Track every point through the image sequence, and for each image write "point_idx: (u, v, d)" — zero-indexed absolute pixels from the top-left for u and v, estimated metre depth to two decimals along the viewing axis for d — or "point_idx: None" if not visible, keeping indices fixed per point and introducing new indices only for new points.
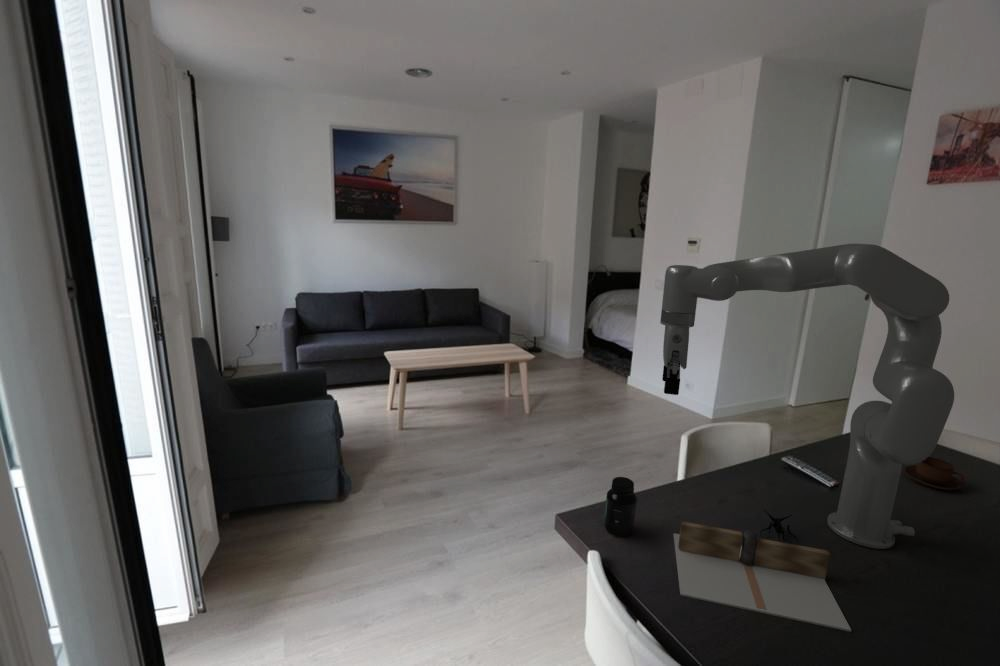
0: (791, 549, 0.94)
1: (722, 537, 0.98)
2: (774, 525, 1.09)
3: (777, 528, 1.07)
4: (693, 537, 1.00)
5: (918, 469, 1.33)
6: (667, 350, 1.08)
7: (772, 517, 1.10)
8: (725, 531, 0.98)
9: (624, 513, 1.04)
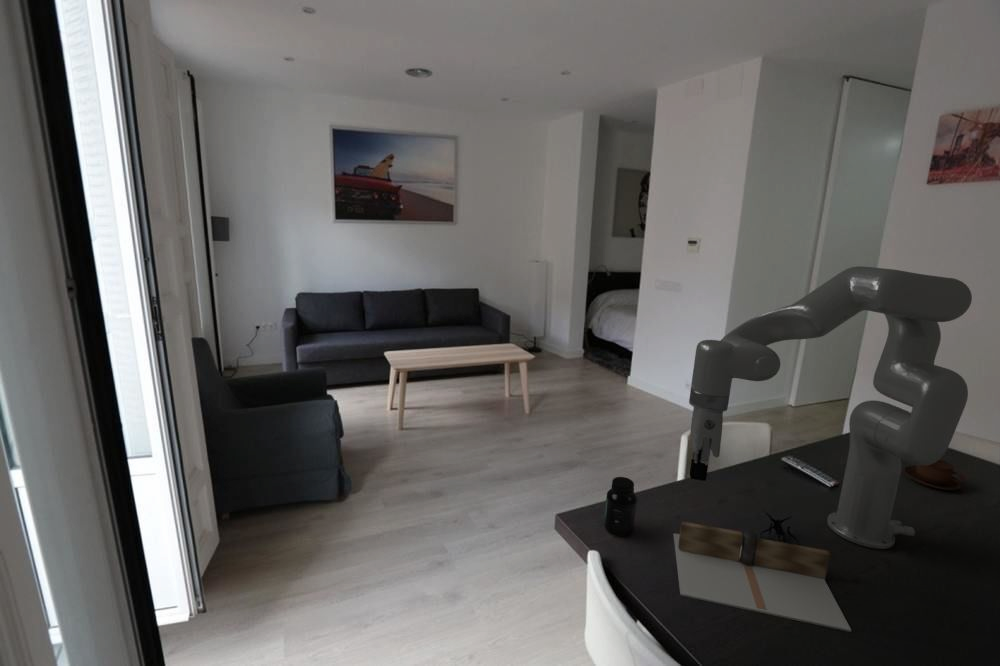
0: (791, 549, 0.94)
1: (722, 537, 0.98)
2: (774, 527, 1.08)
3: (777, 530, 1.06)
4: (693, 537, 1.00)
5: (918, 469, 1.33)
6: (698, 436, 0.96)
7: (772, 518, 1.09)
8: (725, 531, 0.98)
9: (624, 513, 1.04)
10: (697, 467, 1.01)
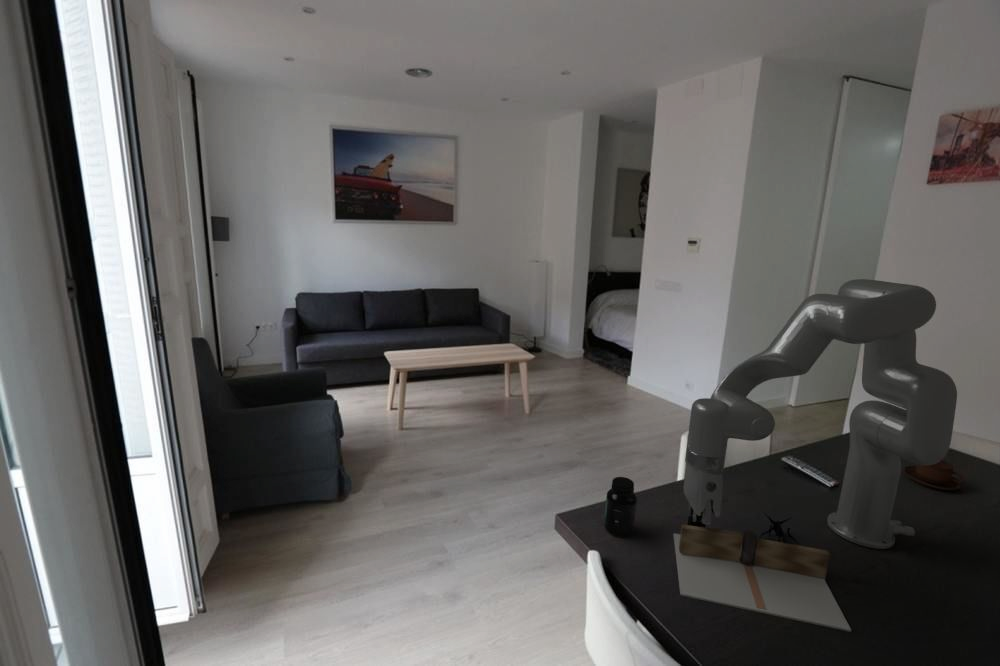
0: (791, 549, 0.94)
1: (723, 538, 0.97)
2: (774, 528, 1.08)
3: (777, 531, 1.06)
4: (694, 540, 0.99)
5: (918, 469, 1.33)
6: (700, 499, 0.95)
7: (772, 520, 1.09)
8: (725, 532, 0.97)
9: (624, 513, 1.04)
10: (696, 525, 1.00)
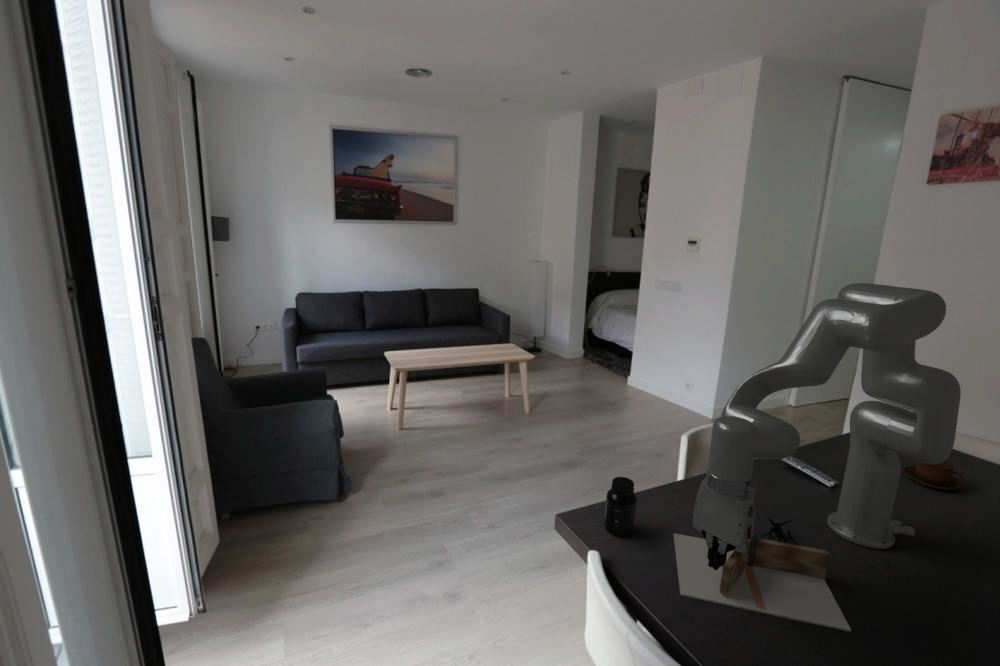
0: (791, 549, 0.94)
1: (744, 554, 0.93)
2: (775, 530, 1.07)
3: (778, 533, 1.05)
4: (733, 573, 0.89)
5: (917, 469, 1.33)
6: (744, 529, 0.86)
7: (772, 522, 1.08)
8: None
9: (625, 513, 1.04)
10: (723, 556, 0.91)
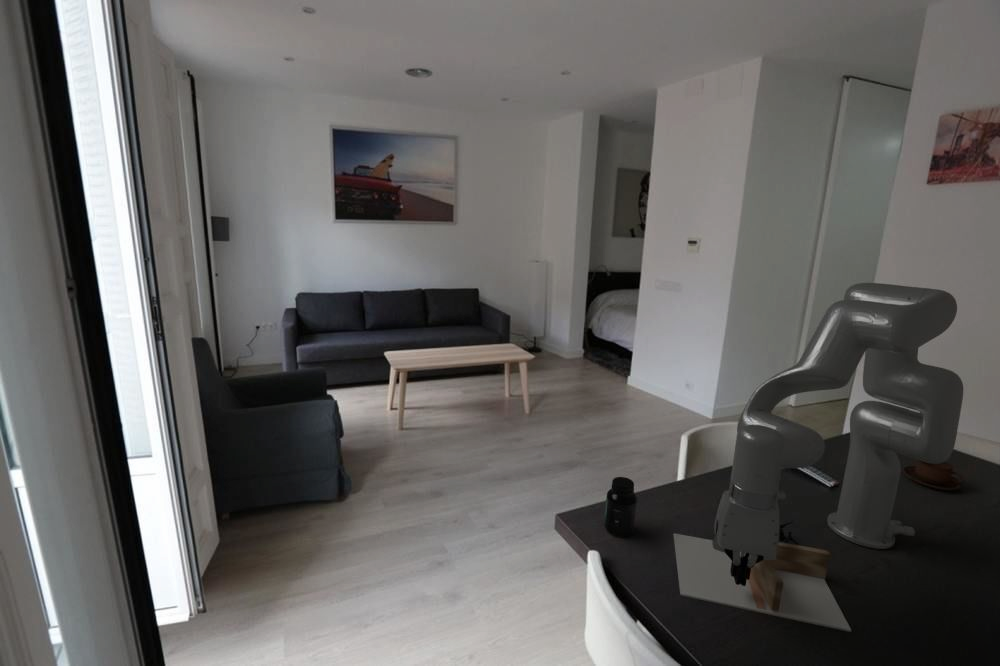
0: (791, 549, 0.94)
1: None
2: None
3: (779, 535, 1.04)
4: None
5: (917, 469, 1.33)
6: (778, 537, 0.84)
7: None
8: None
9: (625, 513, 1.04)
10: None
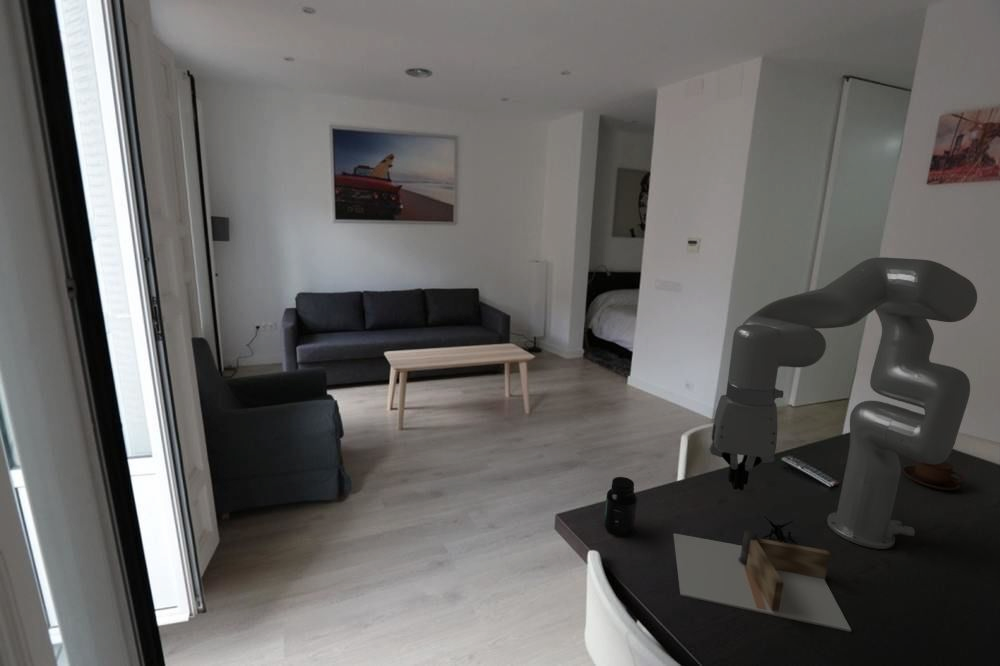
0: (791, 549, 0.94)
1: None
2: (775, 532, 1.06)
3: (778, 535, 1.04)
4: None
5: (917, 469, 1.33)
6: (776, 436, 0.83)
7: None
8: (761, 550, 0.92)
9: (625, 513, 1.04)
10: None
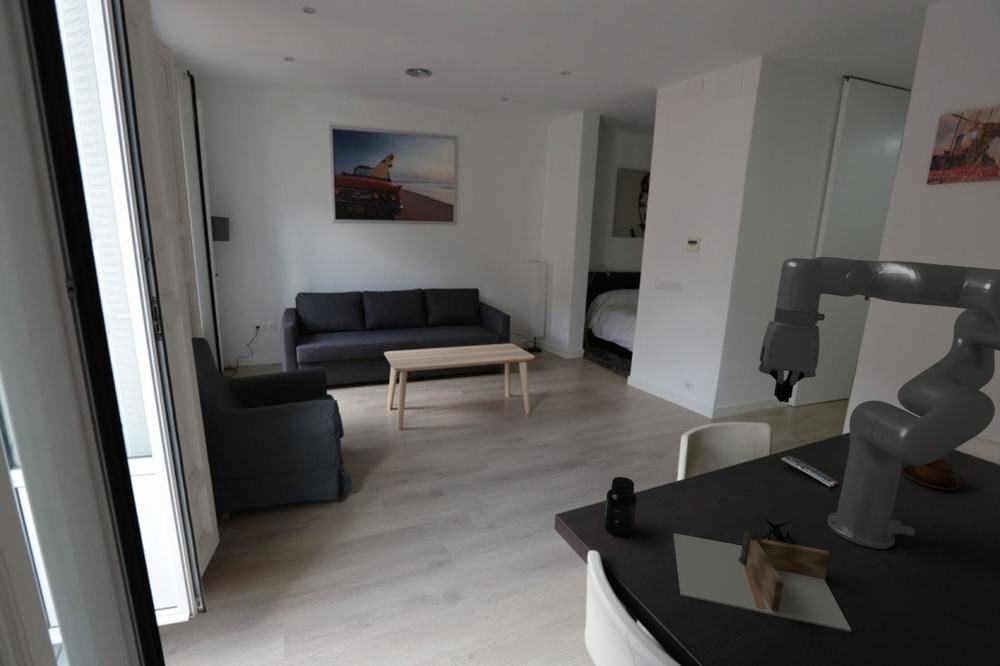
0: (791, 549, 0.94)
1: None
2: (773, 532, 1.07)
3: (777, 535, 1.04)
4: None
5: (917, 469, 1.33)
6: (818, 353, 0.97)
7: (771, 523, 1.07)
8: (761, 550, 0.92)
9: (625, 513, 1.04)
10: None
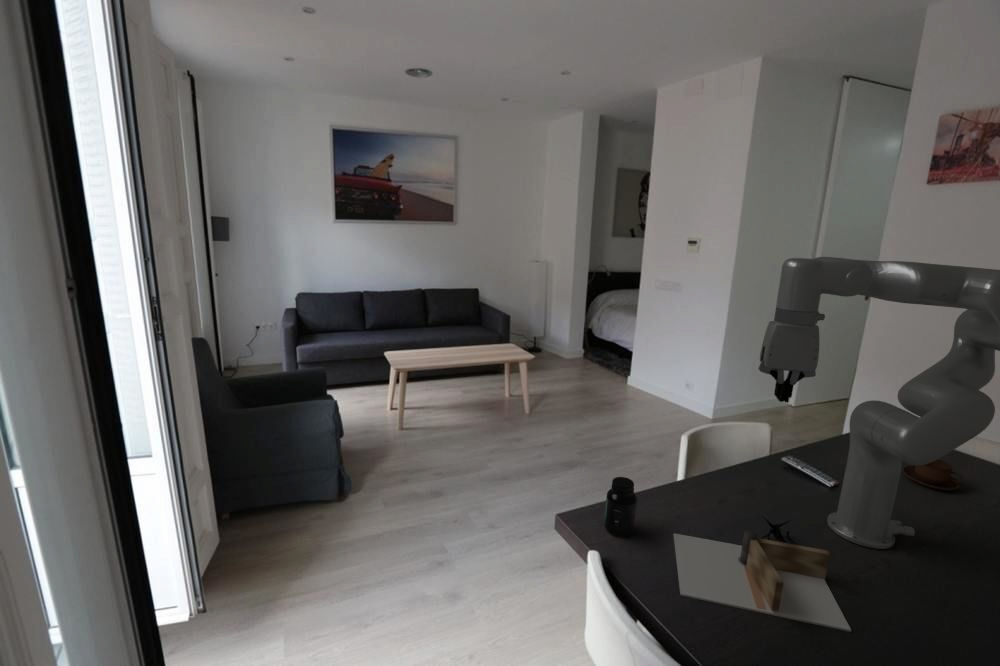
0: (791, 549, 0.94)
1: None
2: (773, 531, 1.07)
3: (777, 535, 1.04)
4: None
5: (917, 469, 1.33)
6: (818, 353, 0.97)
7: (770, 523, 1.07)
8: (761, 550, 0.92)
9: (625, 513, 1.04)
10: None
